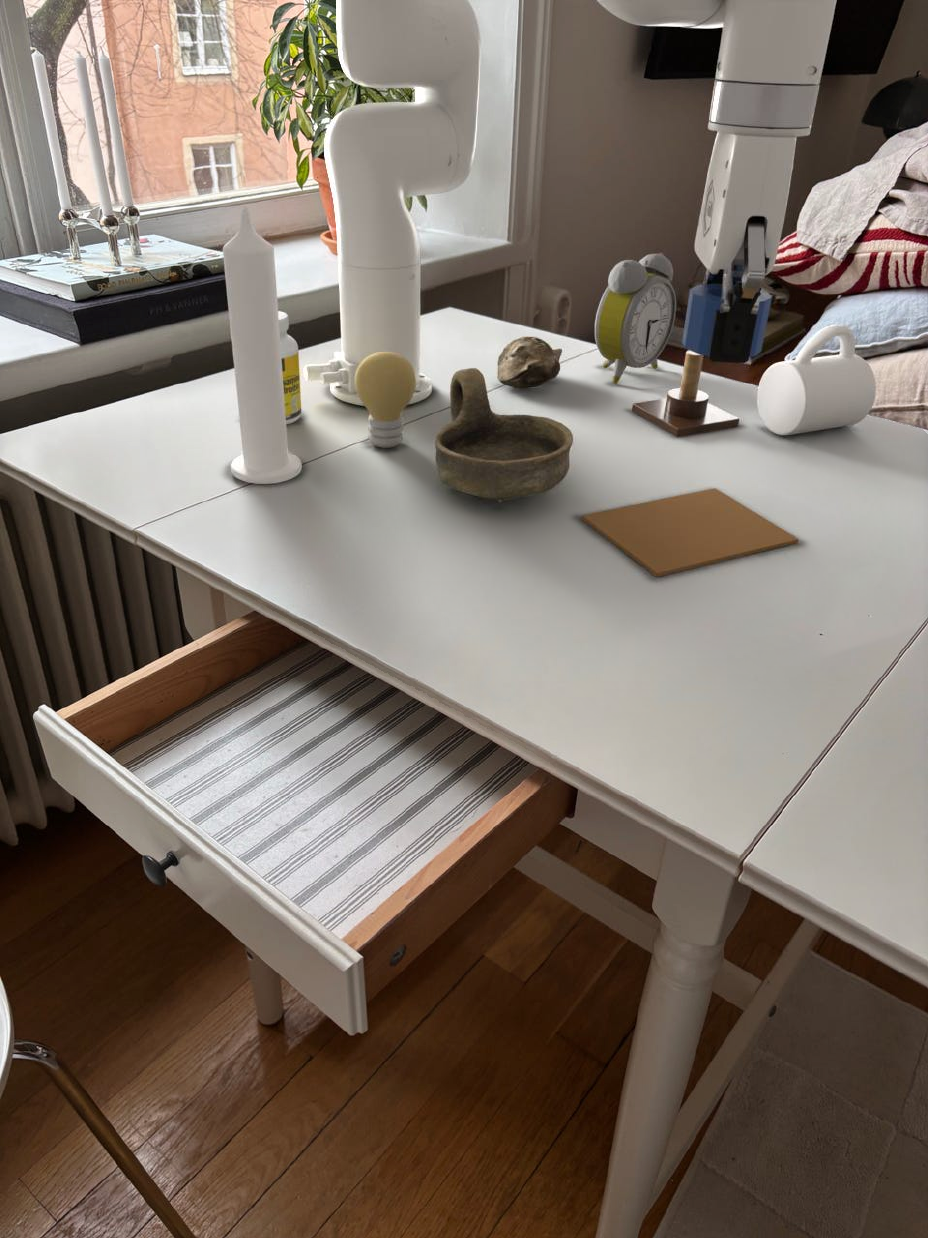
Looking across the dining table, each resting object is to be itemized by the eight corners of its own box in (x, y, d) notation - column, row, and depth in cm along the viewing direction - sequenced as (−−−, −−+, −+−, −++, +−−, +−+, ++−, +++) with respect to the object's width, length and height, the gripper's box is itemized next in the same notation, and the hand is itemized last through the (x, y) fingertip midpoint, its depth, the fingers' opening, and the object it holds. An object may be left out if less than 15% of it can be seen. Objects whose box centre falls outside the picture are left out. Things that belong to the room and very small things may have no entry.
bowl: (468, 532, 87) (472, 429, 82) (399, 461, 101) (399, 367, 95) (597, 510, 92) (609, 411, 87) (516, 444, 106) (522, 355, 100)
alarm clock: (619, 389, 123) (635, 267, 115) (577, 376, 126) (589, 257, 118) (669, 370, 130) (686, 254, 122) (627, 358, 134) (641, 245, 126)
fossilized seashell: (531, 382, 116) (582, 378, 123) (519, 328, 116) (570, 327, 123) (488, 399, 122) (539, 395, 129) (476, 348, 121) (527, 347, 128)
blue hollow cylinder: (715, 362, 77) (725, 305, 75) (667, 340, 82) (675, 286, 80) (776, 353, 80) (787, 298, 78) (726, 333, 85) (735, 280, 82)
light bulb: (425, 439, 106) (426, 349, 101) (398, 459, 101) (397, 366, 96) (375, 428, 108) (373, 340, 103) (345, 447, 103) (342, 356, 98)
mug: (750, 421, 114) (770, 319, 108) (817, 411, 118) (840, 312, 112) (797, 446, 108) (822, 340, 102) (866, 435, 112) (894, 331, 105)
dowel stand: (676, 437, 109) (687, 368, 105) (631, 411, 116) (640, 345, 112) (738, 426, 113) (751, 359, 108) (690, 401, 119) (701, 337, 115)
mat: (656, 577, 82) (657, 573, 82) (581, 518, 91) (581, 515, 90) (798, 542, 88) (799, 539, 88) (714, 491, 97) (715, 487, 97)
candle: (308, 459, 100) (294, 202, 87) (292, 486, 94) (273, 216, 81) (243, 454, 101) (218, 198, 88) (222, 481, 95) (192, 211, 82)
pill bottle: (249, 430, 107) (239, 325, 100) (241, 410, 112) (231, 309, 106) (307, 425, 108) (301, 321, 102) (296, 405, 114) (290, 306, 107)
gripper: (694, 99, 79) (663, 319, 89) (732, 118, 64) (690, 378, 74) (786, 103, 79) (745, 322, 88) (844, 122, 64) (788, 383, 74)
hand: (720, 346), depth 81 cm, fingers closed on blue hollow cylinder, 6 cm apart
